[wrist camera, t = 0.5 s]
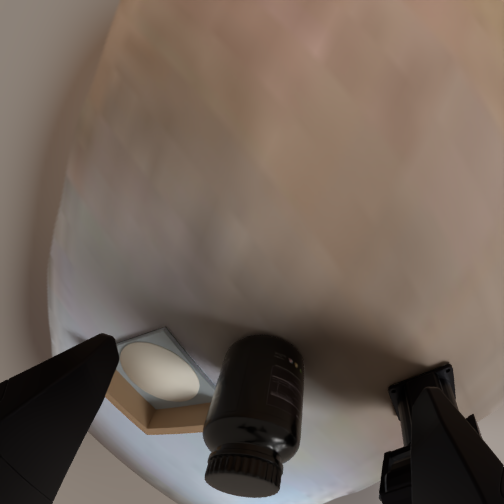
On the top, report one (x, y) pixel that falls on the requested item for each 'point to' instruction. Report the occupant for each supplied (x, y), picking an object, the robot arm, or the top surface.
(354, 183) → the top surface
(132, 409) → the corner arena
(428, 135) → the top surface
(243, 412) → the supplement bottle
